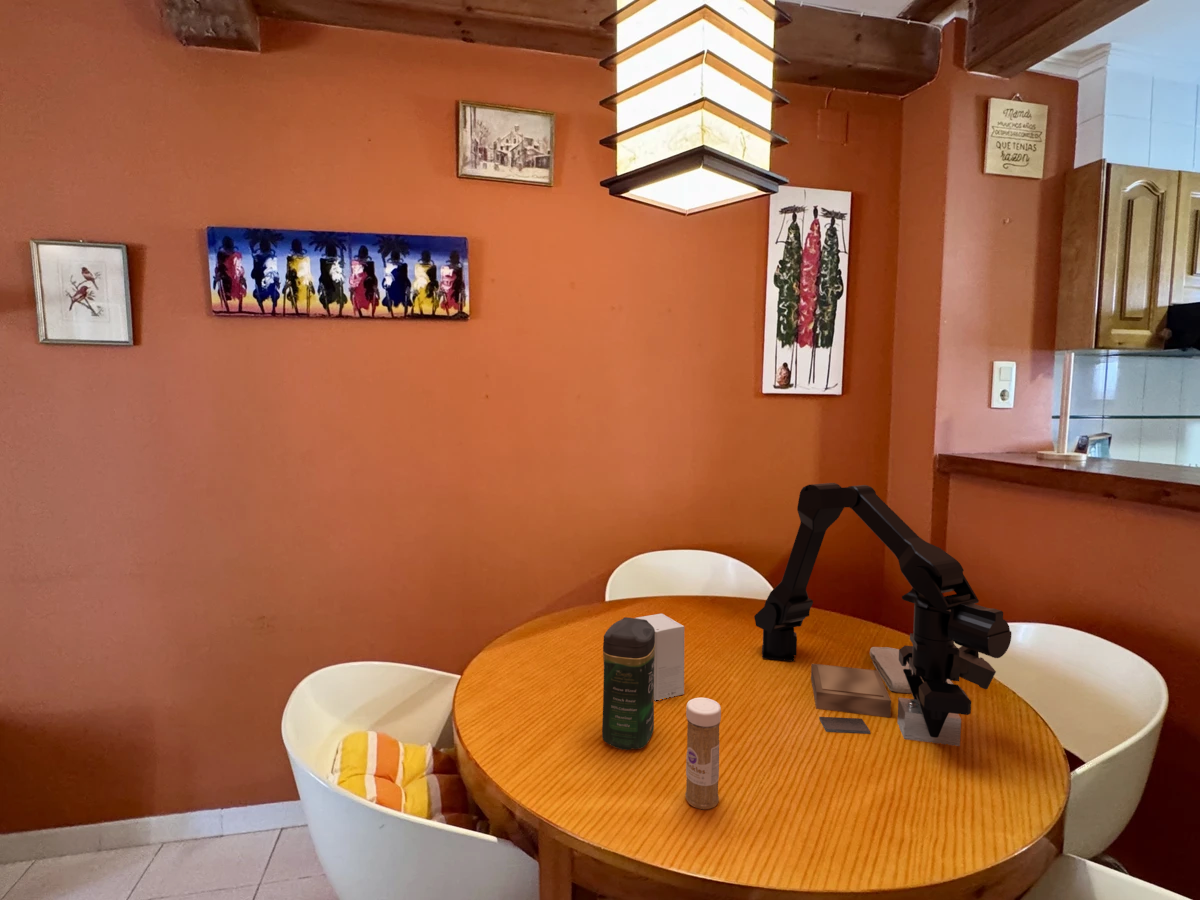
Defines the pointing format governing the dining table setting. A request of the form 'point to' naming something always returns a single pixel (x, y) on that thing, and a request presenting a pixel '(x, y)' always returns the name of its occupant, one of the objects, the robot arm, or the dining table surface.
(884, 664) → the washcloth
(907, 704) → the housing
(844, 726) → the cover plate
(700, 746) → the sprinkles bottle
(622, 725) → the coffee jar
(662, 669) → the small box
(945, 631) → the robot arm
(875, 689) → the tray
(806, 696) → the dining table surface
